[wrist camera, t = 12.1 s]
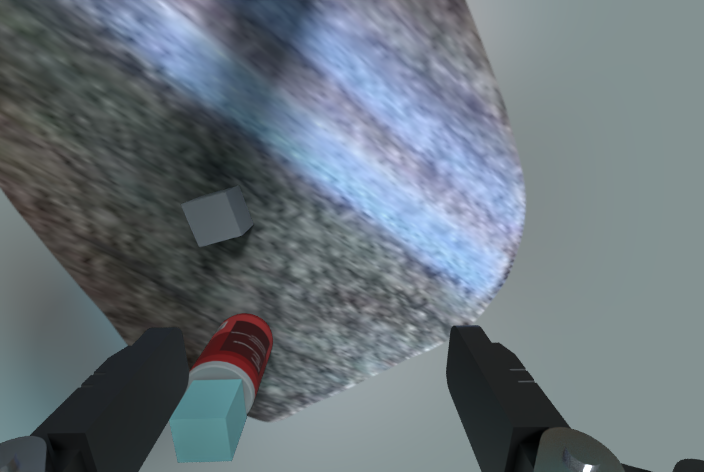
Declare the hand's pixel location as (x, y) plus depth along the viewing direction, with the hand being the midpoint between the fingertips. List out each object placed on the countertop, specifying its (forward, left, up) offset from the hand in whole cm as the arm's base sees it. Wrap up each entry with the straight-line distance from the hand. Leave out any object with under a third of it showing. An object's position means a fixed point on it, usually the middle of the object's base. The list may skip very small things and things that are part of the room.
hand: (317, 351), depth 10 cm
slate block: (+2, -13, -32) cm, 34 cm away
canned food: (+20, -13, -32) cm, 40 cm away
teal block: (+20, -12, -21) cm, 31 cm away
